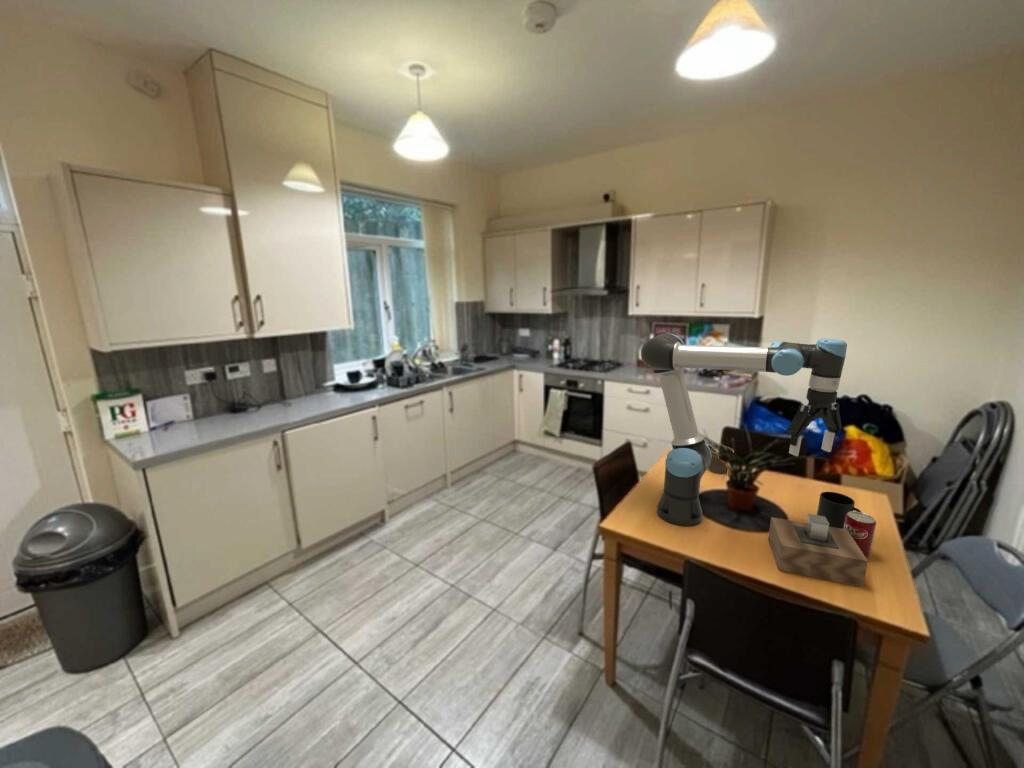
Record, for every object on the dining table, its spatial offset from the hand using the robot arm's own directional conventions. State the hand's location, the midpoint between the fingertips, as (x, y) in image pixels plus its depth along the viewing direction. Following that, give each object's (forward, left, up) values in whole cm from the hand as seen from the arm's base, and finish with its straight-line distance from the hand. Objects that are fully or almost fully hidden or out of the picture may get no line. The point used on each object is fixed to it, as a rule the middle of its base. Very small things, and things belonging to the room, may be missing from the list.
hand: (809, 452), depth 137 cm
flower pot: (-22, +41, -28) cm, 54 cm away
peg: (0, -18, -21) cm, 28 cm away
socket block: (0, -18, -28) cm, 33 cm away
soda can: (+13, -9, -28) cm, 32 cm away
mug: (+14, +9, -28) cm, 32 cm away
